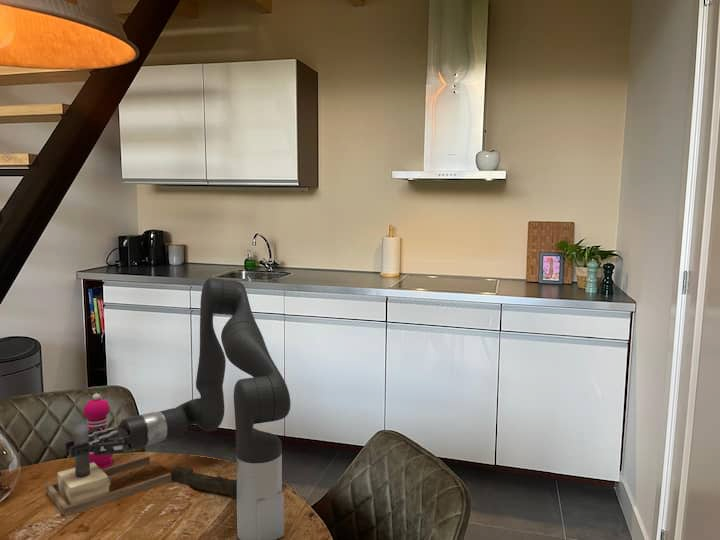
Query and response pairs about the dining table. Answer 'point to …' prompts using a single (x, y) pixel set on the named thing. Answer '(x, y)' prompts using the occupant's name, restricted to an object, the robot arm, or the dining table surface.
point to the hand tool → (204, 481)
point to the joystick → (82, 473)
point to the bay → (110, 496)
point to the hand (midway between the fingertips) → (68, 449)
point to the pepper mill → (98, 417)
